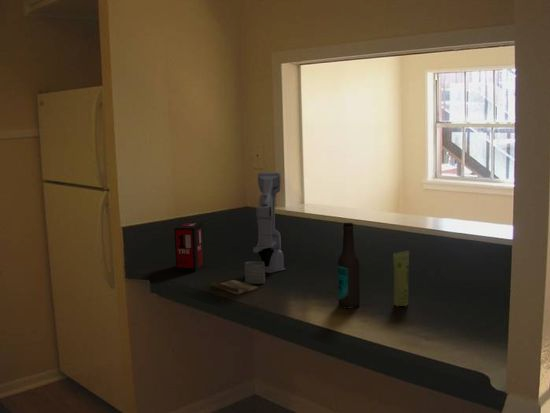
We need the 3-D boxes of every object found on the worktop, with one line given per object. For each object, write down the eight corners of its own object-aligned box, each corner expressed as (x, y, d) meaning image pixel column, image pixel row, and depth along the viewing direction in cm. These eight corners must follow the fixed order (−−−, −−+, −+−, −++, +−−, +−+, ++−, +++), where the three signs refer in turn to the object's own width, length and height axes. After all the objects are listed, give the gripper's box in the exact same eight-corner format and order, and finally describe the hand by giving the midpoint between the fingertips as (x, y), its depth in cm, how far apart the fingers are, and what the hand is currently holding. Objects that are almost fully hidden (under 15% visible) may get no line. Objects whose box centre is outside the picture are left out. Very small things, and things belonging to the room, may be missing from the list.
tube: (407, 308, 216) (407, 253, 213) (392, 307, 217) (392, 253, 215) (409, 303, 221) (409, 250, 218) (394, 302, 223) (394, 249, 220)
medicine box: (265, 281, 257) (264, 261, 256) (264, 284, 252) (263, 263, 251) (246, 281, 258) (245, 261, 256) (245, 284, 253) (244, 263, 252)
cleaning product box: (195, 272, 276) (193, 228, 274) (176, 271, 278) (174, 228, 275) (204, 263, 293) (203, 222, 290) (186, 263, 294) (184, 222, 291)
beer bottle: (334, 304, 223) (333, 222, 218) (352, 301, 226) (352, 220, 221) (345, 310, 216) (344, 225, 211) (363, 306, 219) (363, 223, 214)
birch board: (233, 281, 258) (233, 277, 257) (258, 288, 246) (258, 283, 246) (212, 286, 251) (212, 282, 250) (236, 294, 239) (236, 289, 238)
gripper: (267, 230, 265) (268, 261, 266) (246, 236, 253) (248, 268, 255) (281, 232, 260) (282, 263, 262) (260, 238, 249) (261, 270, 251)
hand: (266, 266), depth 258 cm, fingers closed
